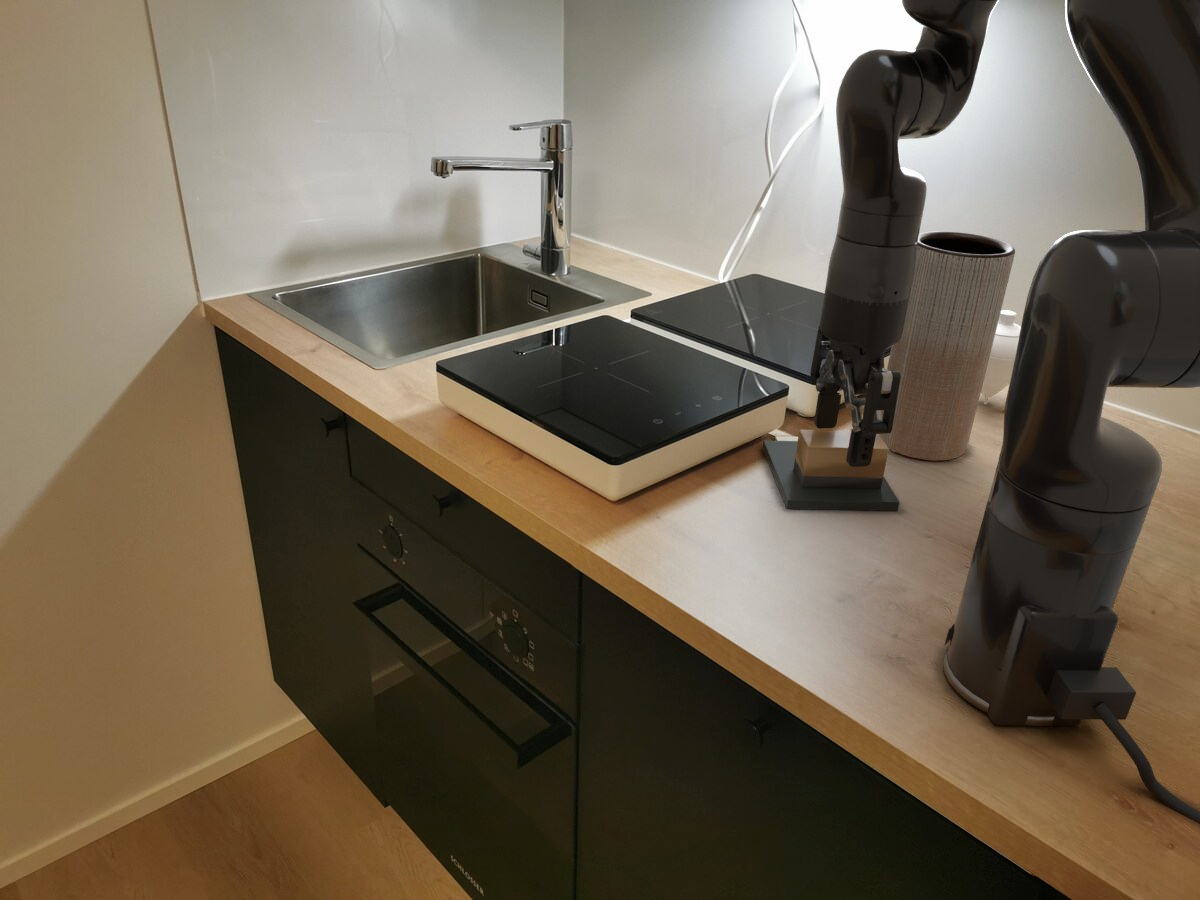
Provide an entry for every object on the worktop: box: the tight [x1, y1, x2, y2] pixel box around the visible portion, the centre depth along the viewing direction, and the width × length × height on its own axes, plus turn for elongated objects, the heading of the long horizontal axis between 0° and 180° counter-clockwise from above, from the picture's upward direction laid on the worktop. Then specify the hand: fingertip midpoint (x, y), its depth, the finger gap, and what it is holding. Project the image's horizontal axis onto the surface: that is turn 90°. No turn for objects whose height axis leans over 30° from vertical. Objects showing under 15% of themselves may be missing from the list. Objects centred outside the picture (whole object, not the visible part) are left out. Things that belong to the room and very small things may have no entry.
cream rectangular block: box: [774, 435, 798, 441], centre depth 102 cm, size 2×4×1 cm, turn 92°
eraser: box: [794, 429, 890, 489], centre depth 91 cm, size 4×8×4 cm, turn 91°
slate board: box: [762, 440, 900, 512], centre depth 94 cm, size 13×11×1 cm
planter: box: [879, 230, 1016, 462], centre depth 98 cm, size 10×10×23 cm
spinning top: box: [981, 309, 1021, 405], centre depth 110 cm, size 8×8×12 cm
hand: (840, 445), depth 90 cm, fingers open, 8 cm apart
